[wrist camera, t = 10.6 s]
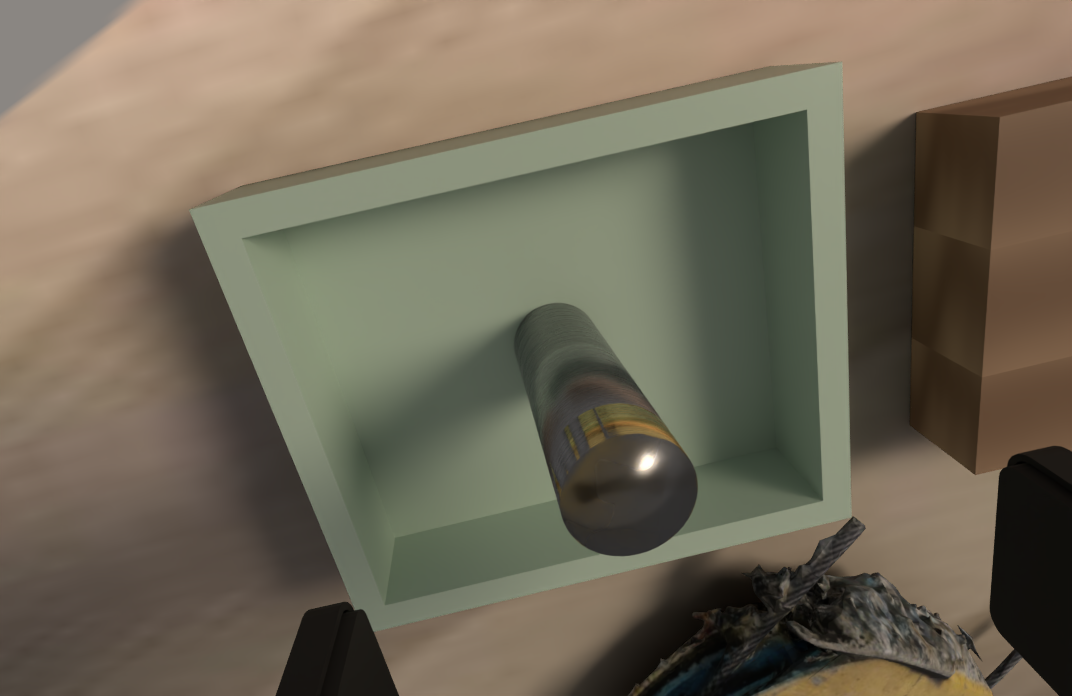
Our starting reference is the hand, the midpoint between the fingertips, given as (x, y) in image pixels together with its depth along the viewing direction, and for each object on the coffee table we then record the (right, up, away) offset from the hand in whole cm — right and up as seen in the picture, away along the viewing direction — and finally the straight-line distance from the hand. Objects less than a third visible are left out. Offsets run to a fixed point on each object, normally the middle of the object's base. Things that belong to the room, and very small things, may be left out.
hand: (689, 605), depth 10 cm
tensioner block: (+14, +7, +10) cm, 19 cm away
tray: (-2, +4, +10) cm, 11 cm away
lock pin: (-2, +4, +9) cm, 10 cm away
